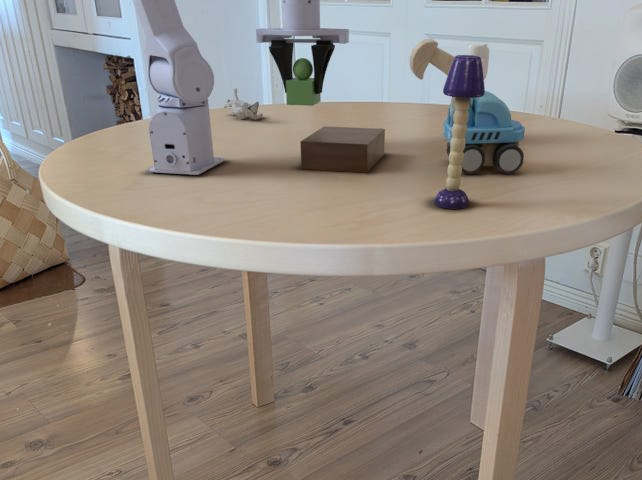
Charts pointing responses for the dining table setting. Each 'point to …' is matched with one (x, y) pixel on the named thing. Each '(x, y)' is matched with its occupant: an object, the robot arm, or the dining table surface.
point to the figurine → (480, 55)
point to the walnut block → (343, 149)
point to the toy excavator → (476, 119)
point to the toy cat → (243, 108)
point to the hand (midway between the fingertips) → (303, 92)
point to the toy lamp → (460, 123)
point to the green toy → (302, 85)
